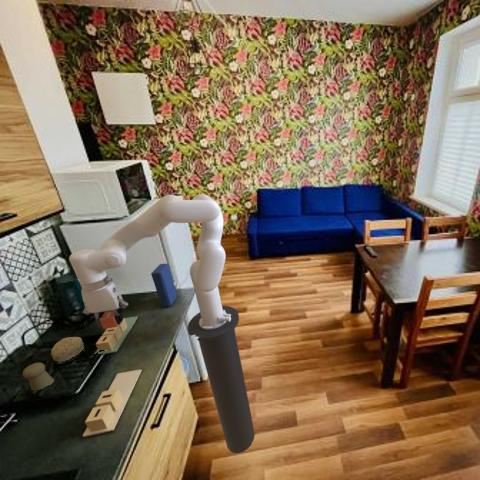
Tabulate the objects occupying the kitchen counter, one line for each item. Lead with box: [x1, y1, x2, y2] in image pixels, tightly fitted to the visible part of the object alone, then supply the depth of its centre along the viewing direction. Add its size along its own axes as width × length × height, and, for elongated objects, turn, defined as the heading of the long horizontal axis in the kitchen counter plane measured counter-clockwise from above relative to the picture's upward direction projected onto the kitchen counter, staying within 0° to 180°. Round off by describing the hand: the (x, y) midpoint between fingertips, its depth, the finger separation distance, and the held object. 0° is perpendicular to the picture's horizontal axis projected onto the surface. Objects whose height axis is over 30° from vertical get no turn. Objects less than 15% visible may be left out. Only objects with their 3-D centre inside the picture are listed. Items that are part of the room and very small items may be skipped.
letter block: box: [99, 310, 118, 330], centre depth 100 cm, size 4×4×5 cm
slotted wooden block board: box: [82, 369, 143, 438], centre depth 88 cm, size 22×8×5 cm, turn 12°
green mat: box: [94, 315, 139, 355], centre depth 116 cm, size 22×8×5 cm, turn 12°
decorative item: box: [50, 336, 85, 362], centre depth 105 cm, size 10×10×10 cm
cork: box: [22, 362, 55, 391], centre depth 91 cm, size 6×6×11 cm
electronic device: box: [150, 263, 179, 308], centre depth 135 cm, size 10×5×20 cm, turn 6°
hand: (112, 323), depth 101 cm, fingers closed on letter block, 4 cm apart
